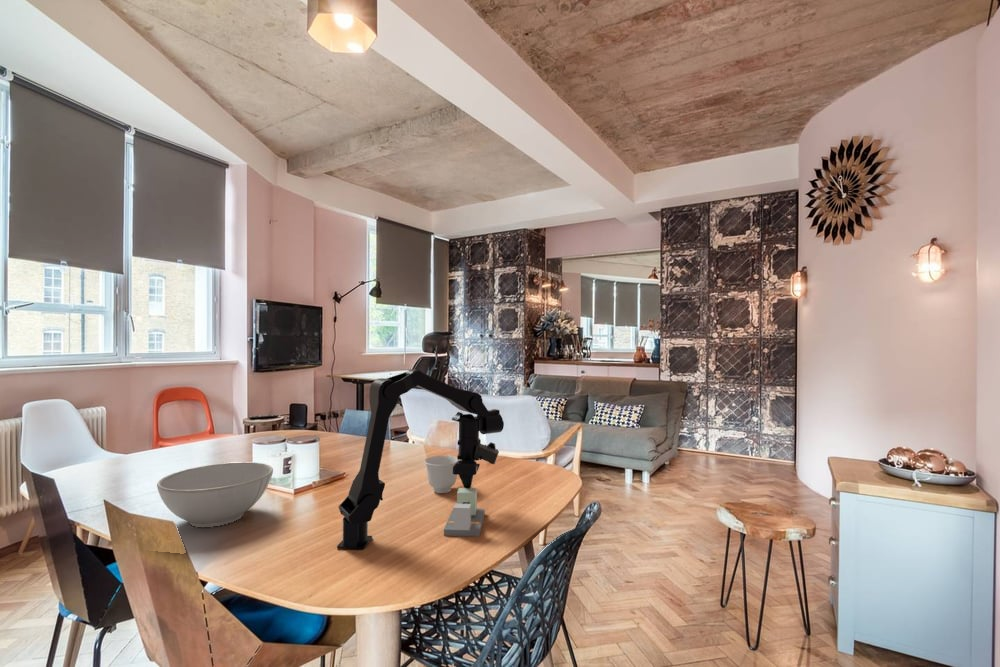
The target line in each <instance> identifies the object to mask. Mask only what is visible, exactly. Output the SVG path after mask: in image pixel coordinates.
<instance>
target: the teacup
mask: <svg viewBox="0 0 1000 667" xmlns="http://www.w3.org/2000/svg"><path fill="white" fill-rule="evenodd" d="M457 461H458V460H457V456H455V455H453V454H449V455H435V456H430V457H427V458H426V459H424V461H423V462H424V464H425V465H426V466H425V467H426V473H427V480H428V484H429V485H430V486H431V487H432V488H433V492H434V493H437V494H446V493H449V492H451V491H452V488H451V487H453V486H454V485H455V484H456V482H457V477H458V475H454V474H453V466H454V464H455V463H456V462H457Z"/></svg>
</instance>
